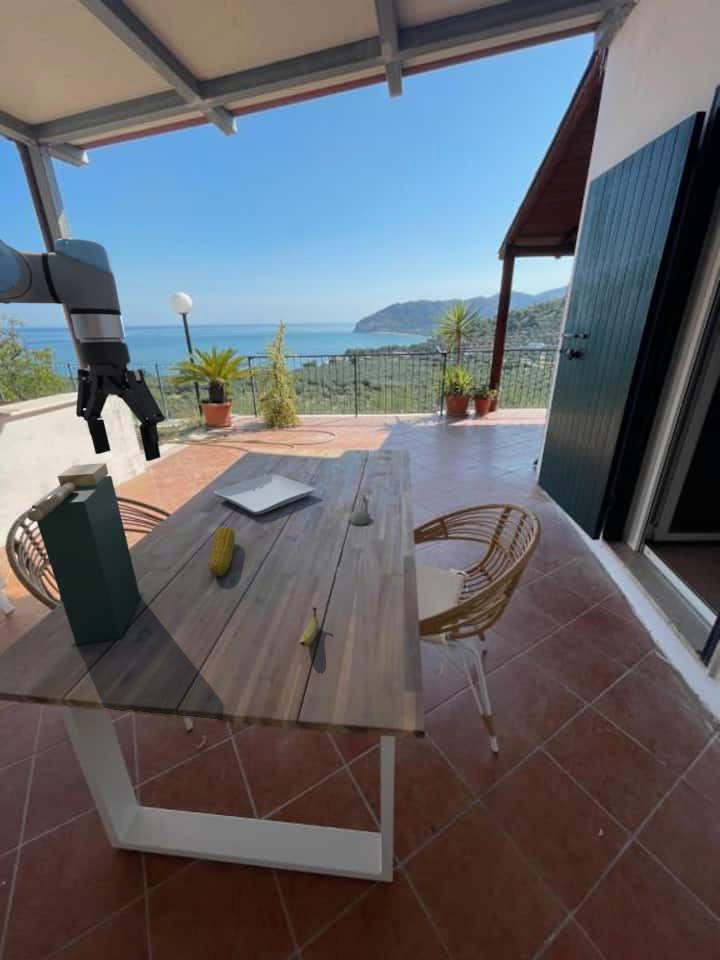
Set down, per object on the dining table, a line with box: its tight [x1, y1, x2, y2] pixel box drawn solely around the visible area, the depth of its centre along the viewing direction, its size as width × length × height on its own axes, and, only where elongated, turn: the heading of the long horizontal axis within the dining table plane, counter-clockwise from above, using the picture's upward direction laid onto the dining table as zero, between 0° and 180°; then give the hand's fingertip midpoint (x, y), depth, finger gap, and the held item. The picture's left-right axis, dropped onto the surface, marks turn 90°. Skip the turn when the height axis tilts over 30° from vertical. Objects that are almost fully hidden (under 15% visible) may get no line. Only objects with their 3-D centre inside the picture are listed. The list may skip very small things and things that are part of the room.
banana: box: [298, 607, 319, 647], centre depth 77 cm, size 10×2×4 cm, turn 172°
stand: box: [31, 475, 141, 646], centre depth 79 cm, size 8×14×30 cm, turn 14°
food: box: [209, 526, 236, 577], centre depth 105 cm, size 21×6×6 cm, turn 14°
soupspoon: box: [349, 494, 371, 526], centre depth 135 cm, size 22×3×7 cm
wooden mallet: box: [26, 462, 109, 522], centre depth 70 cm, size 6×24×2 cm, turn 14°
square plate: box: [213, 473, 316, 516], centre depth 146 cm, size 27×27×4 cm
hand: (127, 455), depth 77 cm, fingers open, 13 cm apart
